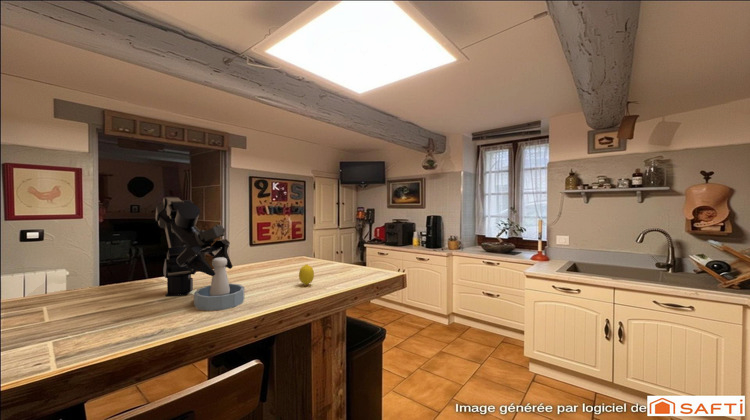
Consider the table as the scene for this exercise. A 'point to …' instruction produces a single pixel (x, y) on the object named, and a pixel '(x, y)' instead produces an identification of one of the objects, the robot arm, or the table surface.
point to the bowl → (218, 298)
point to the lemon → (306, 274)
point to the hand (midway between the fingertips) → (223, 271)
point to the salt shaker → (219, 278)
